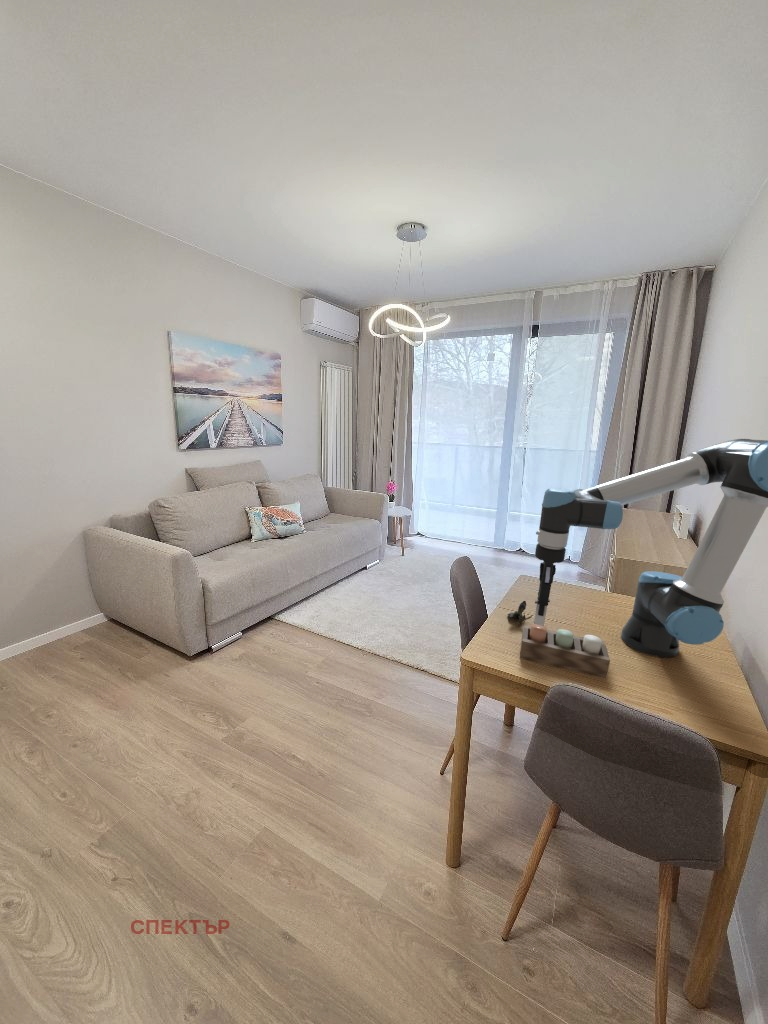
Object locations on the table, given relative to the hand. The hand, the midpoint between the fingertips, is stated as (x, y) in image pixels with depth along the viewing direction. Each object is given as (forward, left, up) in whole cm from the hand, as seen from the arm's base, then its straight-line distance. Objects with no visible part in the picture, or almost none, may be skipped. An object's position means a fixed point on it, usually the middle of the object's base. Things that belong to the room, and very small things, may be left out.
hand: (538, 623), depth 118 cm
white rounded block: (-14, 0, -6) cm, 15 cm away
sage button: (-7, 0, -6) cm, 9 cm away
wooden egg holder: (-7, 0, -9) cm, 12 cm away
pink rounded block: (0, 0, -6) cm, 6 cm away
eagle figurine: (+6, -18, -10) cm, 21 cm away
